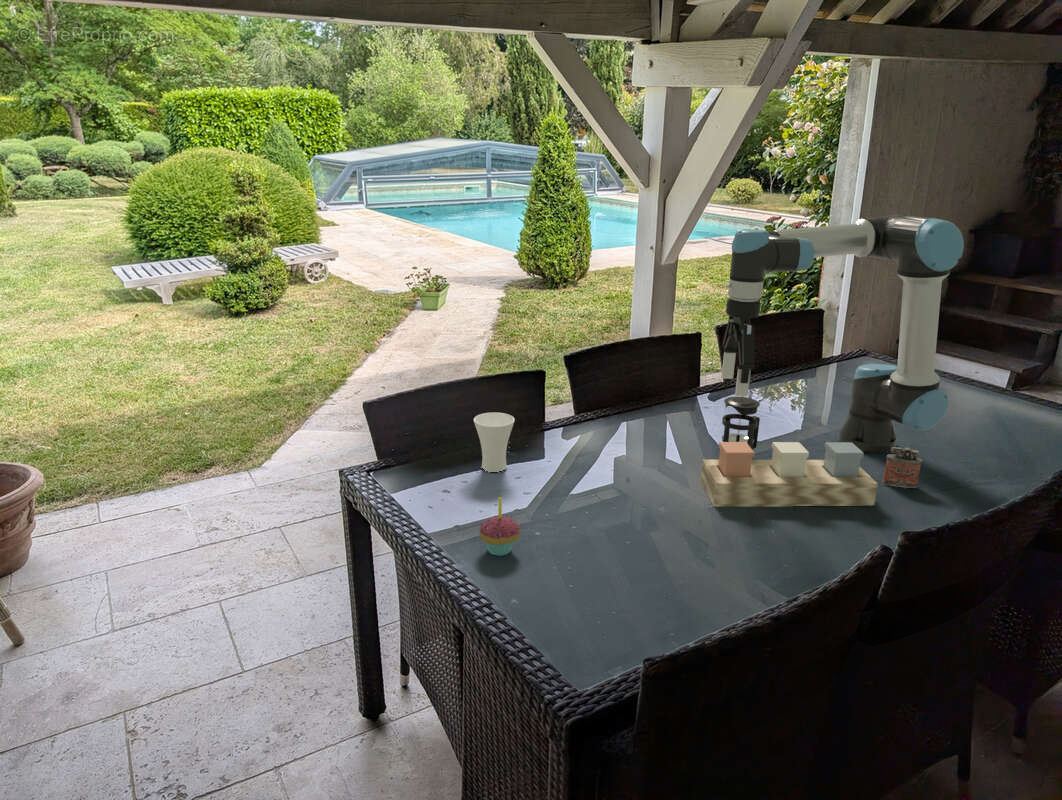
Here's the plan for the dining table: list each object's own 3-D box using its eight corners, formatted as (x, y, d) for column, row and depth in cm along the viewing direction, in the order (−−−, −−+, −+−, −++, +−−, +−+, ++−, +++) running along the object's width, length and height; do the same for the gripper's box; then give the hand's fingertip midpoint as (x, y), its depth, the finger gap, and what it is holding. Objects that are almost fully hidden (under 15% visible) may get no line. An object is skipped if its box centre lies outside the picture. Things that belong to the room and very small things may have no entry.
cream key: (795, 466, 189) (799, 442, 187) (805, 477, 183) (809, 452, 181) (769, 466, 189) (772, 442, 187) (778, 477, 182) (781, 452, 180)
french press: (732, 471, 200) (742, 387, 192) (708, 458, 207) (716, 377, 200) (765, 463, 205) (775, 381, 198) (740, 451, 213) (749, 371, 206)
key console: (849, 481, 195) (852, 459, 193) (873, 506, 182) (877, 483, 180) (700, 481, 194) (702, 459, 192) (714, 506, 180) (716, 483, 178)
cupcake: (479, 540, 164) (478, 489, 160) (519, 539, 164) (519, 488, 160) (480, 561, 156) (479, 508, 152) (522, 560, 156) (522, 507, 152)
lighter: (916, 485, 194) (923, 448, 190) (917, 490, 190) (925, 453, 187) (881, 480, 196) (887, 443, 193) (882, 485, 193) (889, 448, 190)
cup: (521, 464, 202) (521, 416, 198) (503, 479, 193) (503, 429, 189) (485, 457, 206) (485, 409, 202) (466, 471, 197) (465, 422, 193)
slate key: (848, 466, 189) (851, 442, 187) (859, 477, 183) (863, 452, 181) (821, 466, 189) (825, 442, 187) (832, 477, 183) (836, 452, 181)
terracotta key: (743, 466, 189) (746, 442, 186) (751, 477, 182) (754, 452, 180) (716, 466, 188) (719, 441, 186) (723, 477, 182) (726, 452, 180)
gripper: (715, 288, 188) (707, 371, 195) (741, 309, 164) (730, 403, 171) (746, 288, 188) (736, 372, 195) (776, 310, 164) (764, 404, 171)
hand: (733, 386), depth 183 cm, fingers open, 13 cm apart
